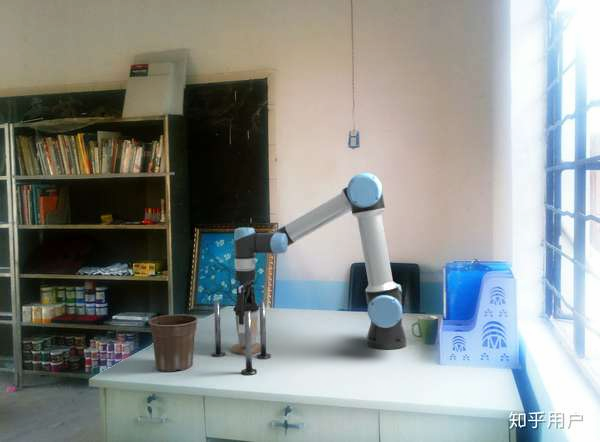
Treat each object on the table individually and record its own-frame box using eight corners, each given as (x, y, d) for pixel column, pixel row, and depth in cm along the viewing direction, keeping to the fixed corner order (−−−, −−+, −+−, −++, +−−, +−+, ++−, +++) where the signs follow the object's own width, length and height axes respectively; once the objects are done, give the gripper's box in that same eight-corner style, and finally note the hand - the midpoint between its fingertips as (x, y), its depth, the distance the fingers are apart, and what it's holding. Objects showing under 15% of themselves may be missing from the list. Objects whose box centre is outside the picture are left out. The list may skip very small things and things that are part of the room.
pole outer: (258, 370, 174) (257, 310, 173) (254, 375, 169) (252, 313, 168) (244, 369, 175) (242, 309, 174) (239, 374, 170) (237, 313, 169)
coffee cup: (262, 341, 201) (261, 302, 200) (255, 348, 192) (254, 307, 191) (238, 340, 203) (237, 301, 202) (230, 347, 194) (229, 306, 193)
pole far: (227, 353, 194) (225, 298, 193) (222, 357, 189) (220, 301, 188) (214, 352, 195) (212, 298, 194) (209, 356, 190) (207, 301, 189)
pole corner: (272, 355, 190) (270, 299, 189) (268, 359, 185) (267, 302, 184) (258, 354, 191) (257, 299, 190) (254, 358, 186) (253, 302, 185)
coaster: (267, 346, 202) (267, 343, 202) (258, 355, 190) (258, 352, 190) (237, 344, 205) (237, 342, 204) (226, 353, 193) (226, 351, 193)
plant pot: (206, 360, 186) (205, 314, 185) (187, 375, 170) (186, 325, 170) (163, 358, 189) (162, 313, 189) (141, 373, 174) (139, 324, 173)
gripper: (245, 273, 184) (247, 337, 185) (263, 265, 206) (264, 322, 207) (225, 273, 186) (226, 336, 187) (244, 265, 208) (246, 322, 209)
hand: (246, 329), depth 197 cm, fingers closed on coffee cup, 9 cm apart
